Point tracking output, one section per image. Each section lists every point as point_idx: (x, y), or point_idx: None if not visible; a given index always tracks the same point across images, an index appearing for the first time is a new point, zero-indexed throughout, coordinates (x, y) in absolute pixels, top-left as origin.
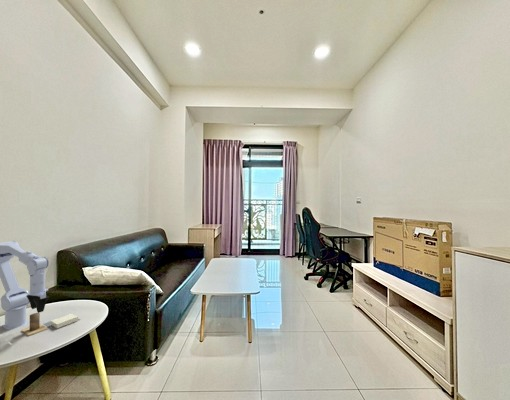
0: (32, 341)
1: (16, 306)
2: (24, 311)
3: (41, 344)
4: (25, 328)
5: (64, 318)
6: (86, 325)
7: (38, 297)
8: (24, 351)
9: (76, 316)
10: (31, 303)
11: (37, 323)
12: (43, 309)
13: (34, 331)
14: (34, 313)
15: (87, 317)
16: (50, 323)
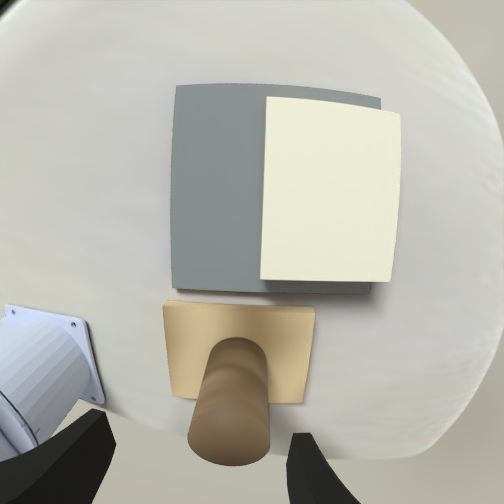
0: (371, 391)
1: (15, 455)
2: (27, 386)
3: (441, 370)
4: (172, 381)
5: (327, 188)
6: (469, 137)
7: (40, 497)
8: (422, 418)
9: (384, 114)
10: (90, 493)
11: (266, 382)
12: (316, 449)
13: (283, 374)
14: (193, 435)
15: (354, 46)
16: (218, 254)
